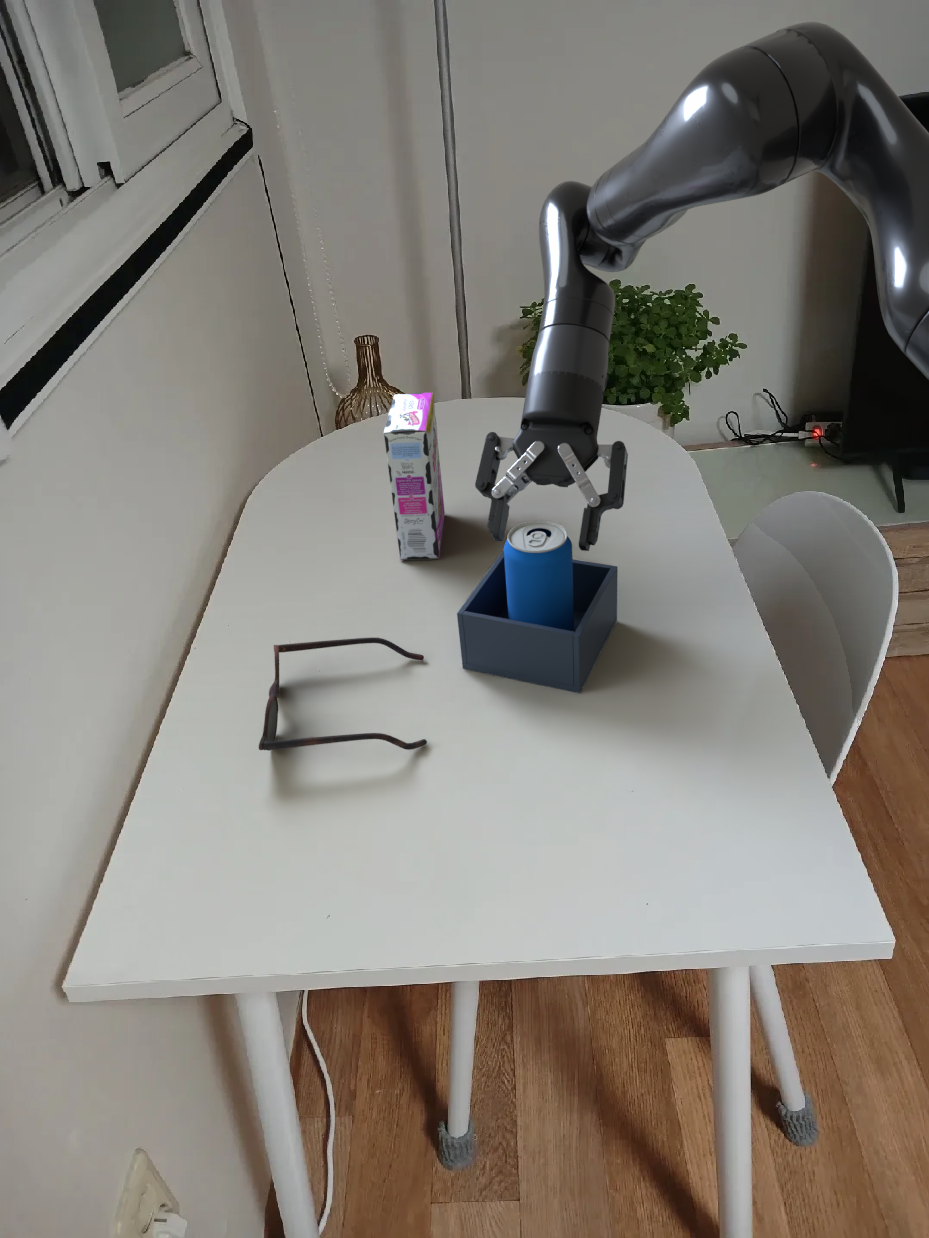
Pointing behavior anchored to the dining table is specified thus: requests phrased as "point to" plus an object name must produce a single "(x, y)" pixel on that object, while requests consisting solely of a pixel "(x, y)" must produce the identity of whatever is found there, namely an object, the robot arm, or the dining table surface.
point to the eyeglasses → (271, 729)
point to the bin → (539, 630)
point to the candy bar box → (415, 475)
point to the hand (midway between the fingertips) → (540, 544)
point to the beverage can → (540, 574)
